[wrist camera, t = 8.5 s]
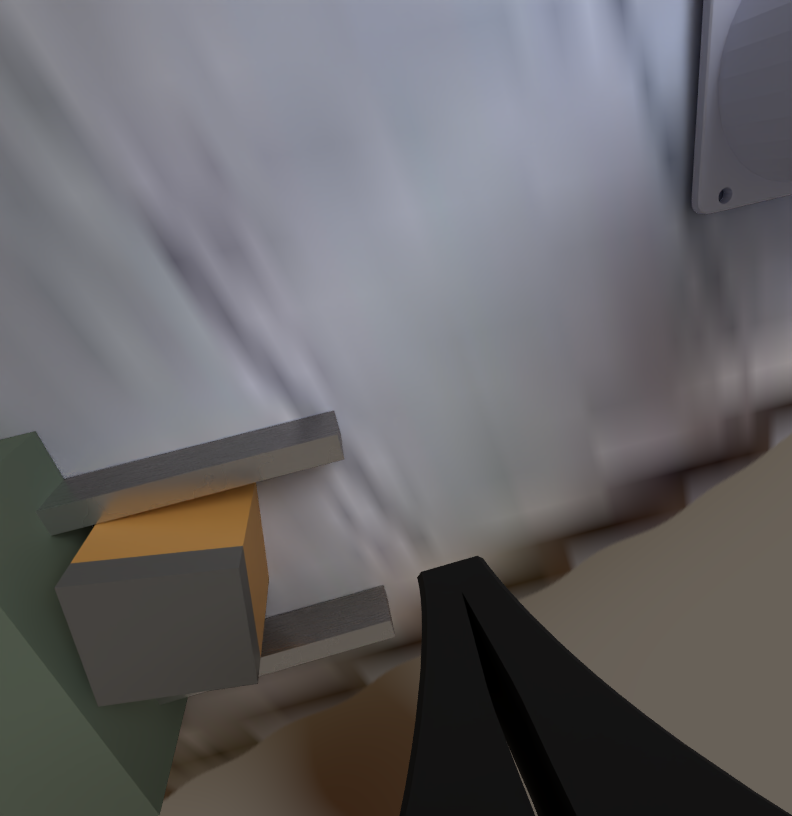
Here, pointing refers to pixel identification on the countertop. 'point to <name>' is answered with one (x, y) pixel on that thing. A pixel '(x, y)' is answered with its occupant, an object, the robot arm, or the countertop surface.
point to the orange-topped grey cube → (170, 599)
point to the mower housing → (53, 643)
